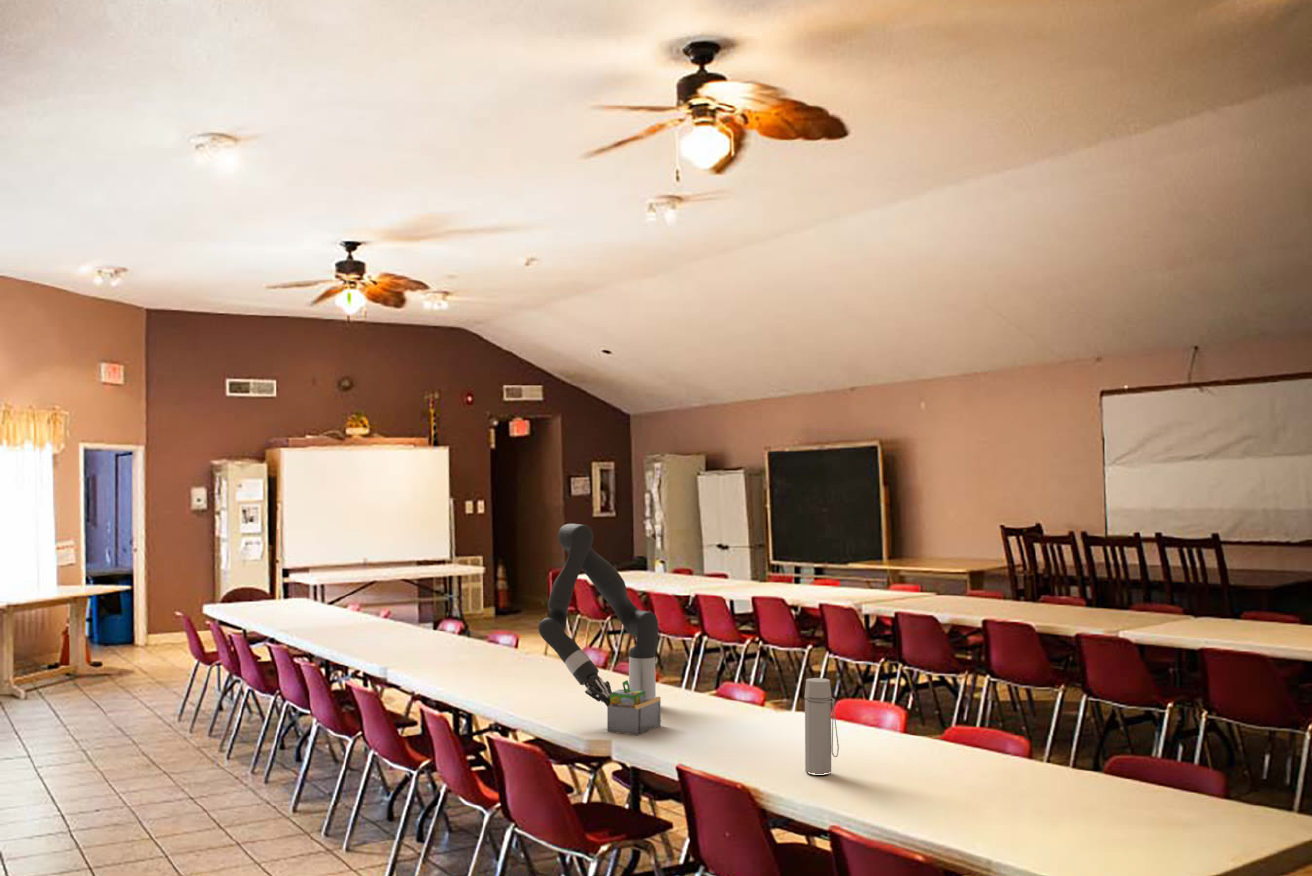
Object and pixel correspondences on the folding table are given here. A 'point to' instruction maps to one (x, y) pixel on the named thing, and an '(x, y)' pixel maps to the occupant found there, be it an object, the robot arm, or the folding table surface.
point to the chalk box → (627, 697)
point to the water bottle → (818, 726)
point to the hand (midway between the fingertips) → (614, 708)
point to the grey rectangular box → (634, 717)
